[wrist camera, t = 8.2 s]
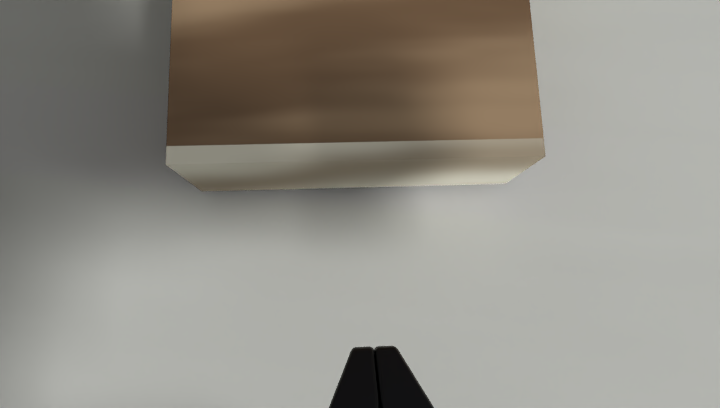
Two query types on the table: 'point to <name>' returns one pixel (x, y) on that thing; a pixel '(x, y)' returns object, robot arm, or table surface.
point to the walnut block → (351, 93)
